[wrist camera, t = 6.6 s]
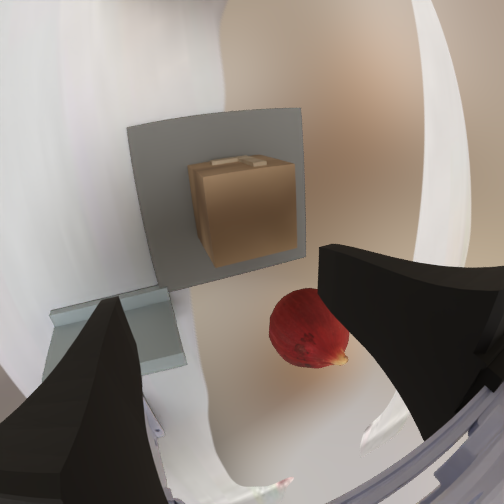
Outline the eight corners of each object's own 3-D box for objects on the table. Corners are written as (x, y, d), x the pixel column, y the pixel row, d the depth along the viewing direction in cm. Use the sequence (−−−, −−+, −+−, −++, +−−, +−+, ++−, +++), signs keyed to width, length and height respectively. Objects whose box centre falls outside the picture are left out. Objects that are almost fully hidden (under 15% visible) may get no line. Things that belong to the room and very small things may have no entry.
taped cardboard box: (264, 222, 20) (297, 247, 16) (197, 236, 19) (215, 268, 15) (259, 151, 18) (294, 159, 14) (186, 161, 17) (202, 172, 13)
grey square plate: (303, 254, 23) (305, 256, 23) (160, 291, 20) (161, 294, 19) (298, 107, 18) (300, 107, 18) (126, 127, 15) (126, 127, 15)
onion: (271, 341, 25) (315, 406, 19) (241, 299, 22) (287, 371, 16) (324, 303, 26) (380, 358, 19) (303, 257, 23) (369, 311, 16)
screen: (175, 317, 21) (191, 375, 16) (66, 342, 18) (57, 402, 13) (165, 283, 20) (179, 338, 15) (50, 310, 17) (33, 369, 12)
